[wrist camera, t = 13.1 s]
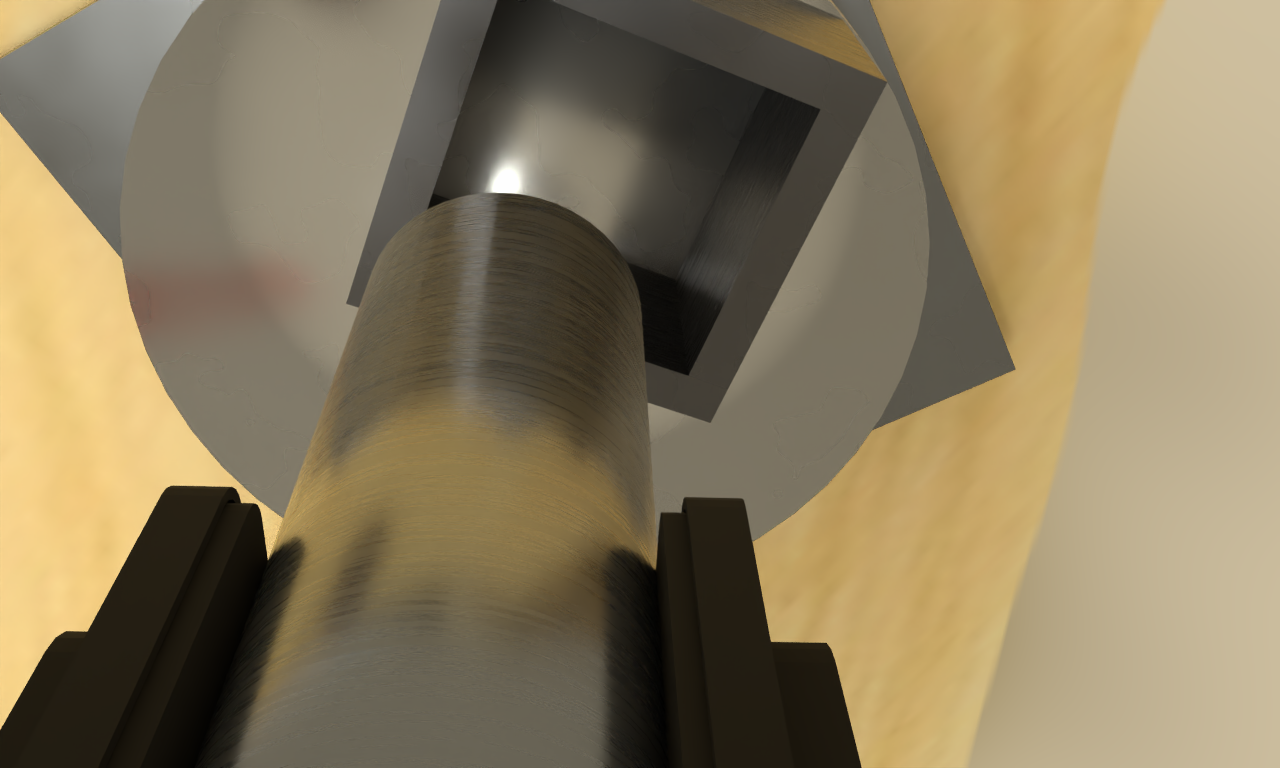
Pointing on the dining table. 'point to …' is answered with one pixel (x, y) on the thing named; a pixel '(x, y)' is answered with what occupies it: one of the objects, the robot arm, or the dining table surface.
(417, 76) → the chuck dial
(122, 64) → the base
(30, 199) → the dining table surface
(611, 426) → the chrome capsule
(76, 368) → the dining table surface
